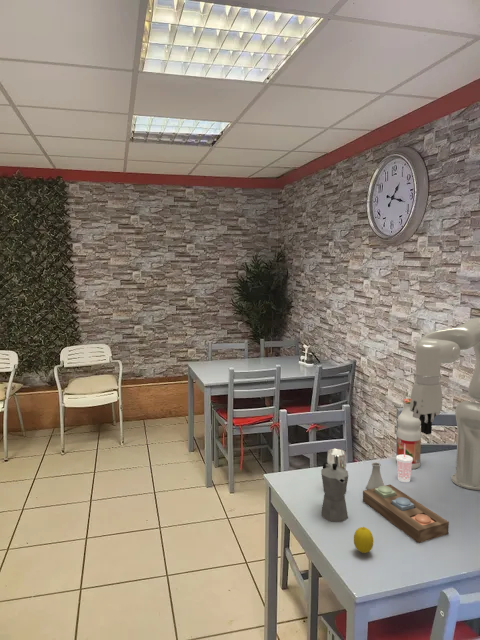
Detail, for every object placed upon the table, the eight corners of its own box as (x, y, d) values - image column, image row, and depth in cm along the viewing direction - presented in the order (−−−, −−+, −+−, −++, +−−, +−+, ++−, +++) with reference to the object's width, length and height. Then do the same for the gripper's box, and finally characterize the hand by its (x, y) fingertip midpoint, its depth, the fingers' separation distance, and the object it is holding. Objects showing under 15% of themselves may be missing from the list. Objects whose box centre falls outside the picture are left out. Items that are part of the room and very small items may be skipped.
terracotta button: (423, 521, 147) (423, 512, 146) (434, 529, 142) (435, 520, 142) (410, 524, 145) (410, 515, 145) (422, 533, 140) (422, 523, 140)
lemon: (351, 548, 136) (351, 522, 135) (369, 546, 136) (369, 521, 135) (357, 559, 130) (357, 533, 129) (376, 558, 131) (376, 532, 130)
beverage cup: (413, 478, 179) (414, 444, 178) (410, 484, 174) (411, 449, 173) (397, 474, 183) (398, 441, 181) (393, 480, 177) (394, 446, 176)
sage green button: (385, 492, 163) (386, 484, 163) (395, 499, 159) (395, 490, 158) (374, 495, 161) (374, 487, 161) (383, 501, 157) (383, 493, 156)
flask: (386, 494, 167) (387, 468, 166) (366, 493, 168) (366, 467, 167) (384, 485, 174) (385, 460, 173) (365, 484, 175) (365, 459, 174)
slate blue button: (403, 504, 155) (403, 495, 155) (414, 511, 150) (414, 502, 150) (391, 507, 153) (391, 498, 153) (402, 514, 149) (402, 505, 148)
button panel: (389, 494, 167) (390, 484, 166) (448, 534, 142) (448, 521, 141) (362, 501, 162) (362, 490, 162) (418, 543, 137) (418, 530, 137)
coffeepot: (356, 523, 148) (356, 470, 146) (329, 527, 146) (329, 474, 144) (336, 500, 163) (336, 452, 161) (311, 503, 161) (311, 455, 159)
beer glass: (325, 493, 169) (325, 454, 167) (329, 484, 175) (329, 447, 173) (344, 496, 166) (344, 457, 164) (347, 487, 172) (347, 449, 171)
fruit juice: (424, 468, 188) (426, 402, 185) (403, 470, 186) (405, 403, 183) (412, 459, 197) (414, 396, 194) (392, 461, 195) (393, 397, 192)
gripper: (436, 375, 158) (434, 426, 160) (401, 379, 152) (400, 432, 154) (453, 379, 151) (451, 433, 153) (418, 384, 145) (416, 440, 147)
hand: (426, 432), depth 154 cm, fingers closed
